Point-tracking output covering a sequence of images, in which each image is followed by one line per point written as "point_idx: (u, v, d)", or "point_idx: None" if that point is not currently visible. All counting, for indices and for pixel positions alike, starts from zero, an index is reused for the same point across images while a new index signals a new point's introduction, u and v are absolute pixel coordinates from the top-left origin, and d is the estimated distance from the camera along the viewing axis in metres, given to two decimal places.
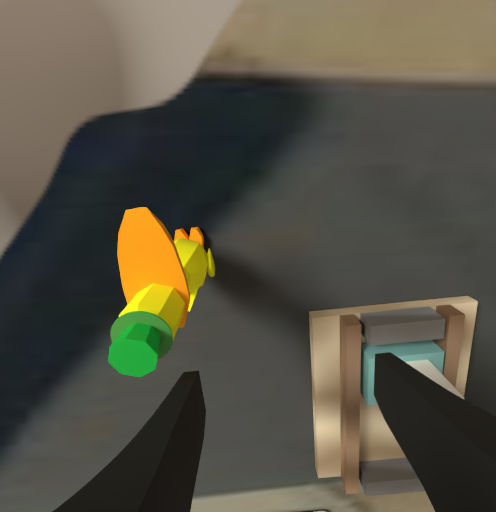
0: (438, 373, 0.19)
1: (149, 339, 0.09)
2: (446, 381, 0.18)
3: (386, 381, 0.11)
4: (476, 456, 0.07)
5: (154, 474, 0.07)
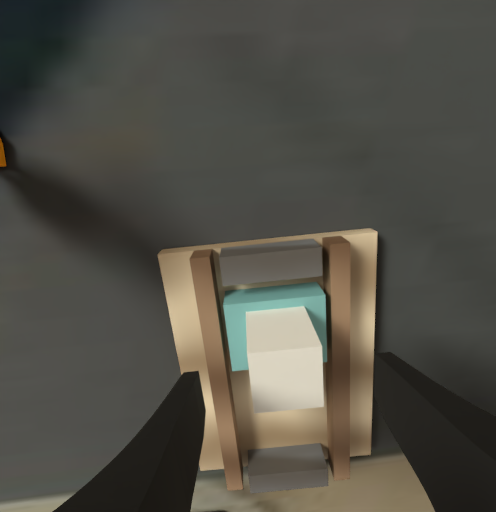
0: (306, 320, 0.14)
1: None
2: (311, 328, 0.13)
3: (386, 381, 0.11)
4: (476, 456, 0.07)
5: (154, 474, 0.07)
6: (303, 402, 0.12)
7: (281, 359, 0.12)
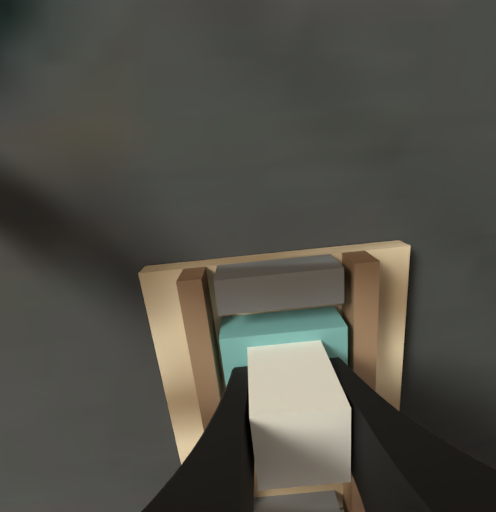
0: (326, 362, 0.11)
1: None
2: (332, 376, 0.10)
3: None
4: (387, 465, 0.07)
5: (241, 466, 0.07)
6: (323, 477, 0.09)
7: (295, 425, 0.09)
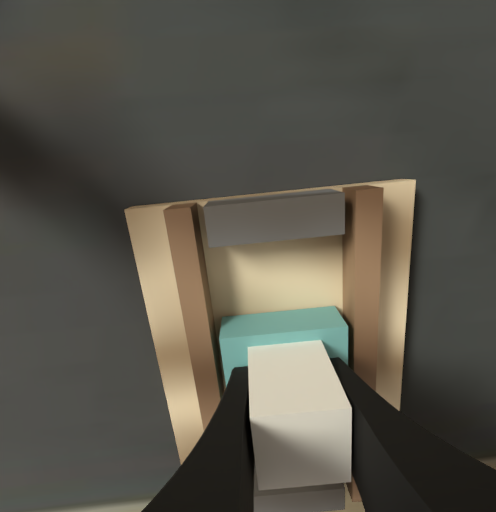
0: (326, 362, 0.11)
1: None
2: (333, 376, 0.10)
3: None
4: (388, 465, 0.07)
5: (241, 466, 0.07)
6: (324, 477, 0.09)
7: (295, 425, 0.09)
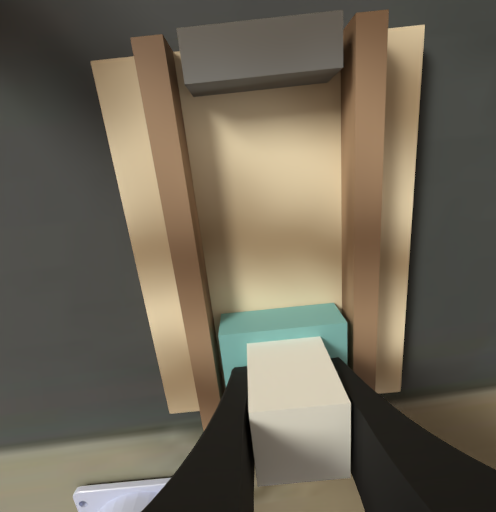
0: (325, 358, 0.11)
1: None
2: (332, 372, 0.10)
3: None
4: (387, 465, 0.07)
5: (240, 466, 0.07)
6: (323, 472, 0.09)
7: (294, 420, 0.09)
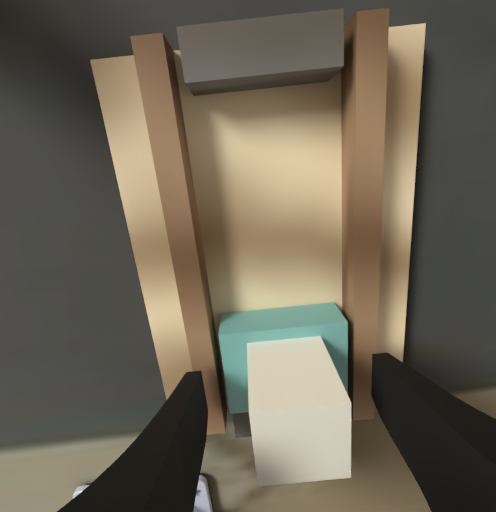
0: (326, 357, 0.11)
1: None
2: (332, 371, 0.10)
3: (383, 381, 0.11)
4: (471, 456, 0.07)
5: (159, 474, 0.07)
6: (323, 472, 0.09)
7: (294, 420, 0.09)
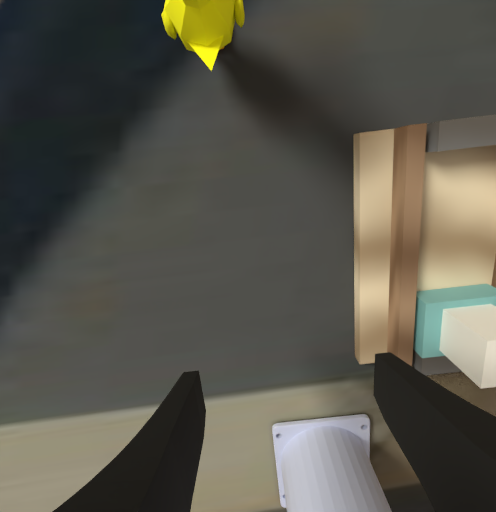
0: None
1: None
2: None
3: (386, 381, 0.11)
4: (476, 456, 0.07)
5: (154, 474, 0.07)
6: None
7: None
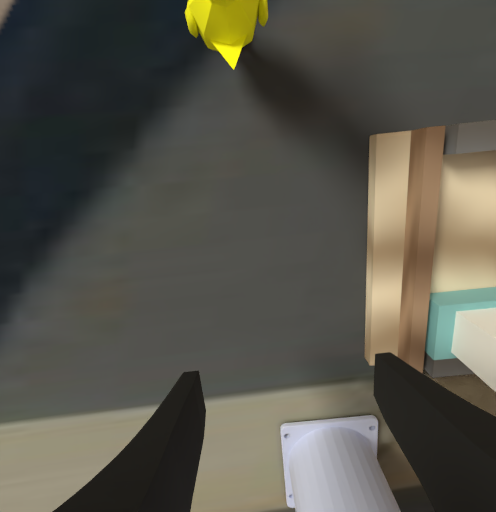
0: None
1: None
2: None
3: (386, 381, 0.11)
4: (476, 456, 0.07)
5: (154, 474, 0.07)
6: None
7: None
